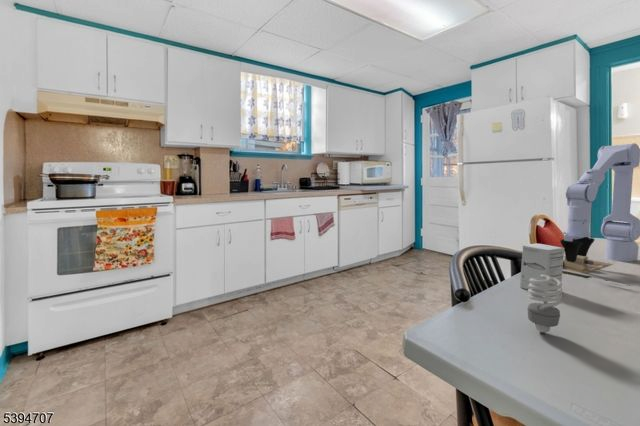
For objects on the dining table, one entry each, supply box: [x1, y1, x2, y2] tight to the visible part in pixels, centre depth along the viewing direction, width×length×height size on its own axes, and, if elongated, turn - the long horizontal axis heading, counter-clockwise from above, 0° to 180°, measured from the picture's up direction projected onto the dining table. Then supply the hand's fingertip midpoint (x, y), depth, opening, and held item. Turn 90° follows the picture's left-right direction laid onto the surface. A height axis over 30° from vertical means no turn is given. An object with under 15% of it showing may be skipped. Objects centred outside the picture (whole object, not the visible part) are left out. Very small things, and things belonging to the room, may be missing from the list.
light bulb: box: [527, 275, 563, 334], centre depth 64 cm, size 6×6×12 cm
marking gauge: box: [564, 254, 594, 270], centre depth 107 cm, size 4×7×4 cm, turn 31°
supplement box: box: [519, 242, 565, 292], centre depth 90 cm, size 7×7×13 cm
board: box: [562, 255, 614, 279], centre depth 111 cm, size 22×9×3 cm, turn 121°
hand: (575, 260), depth 108 cm, fingers open, 7 cm apart
